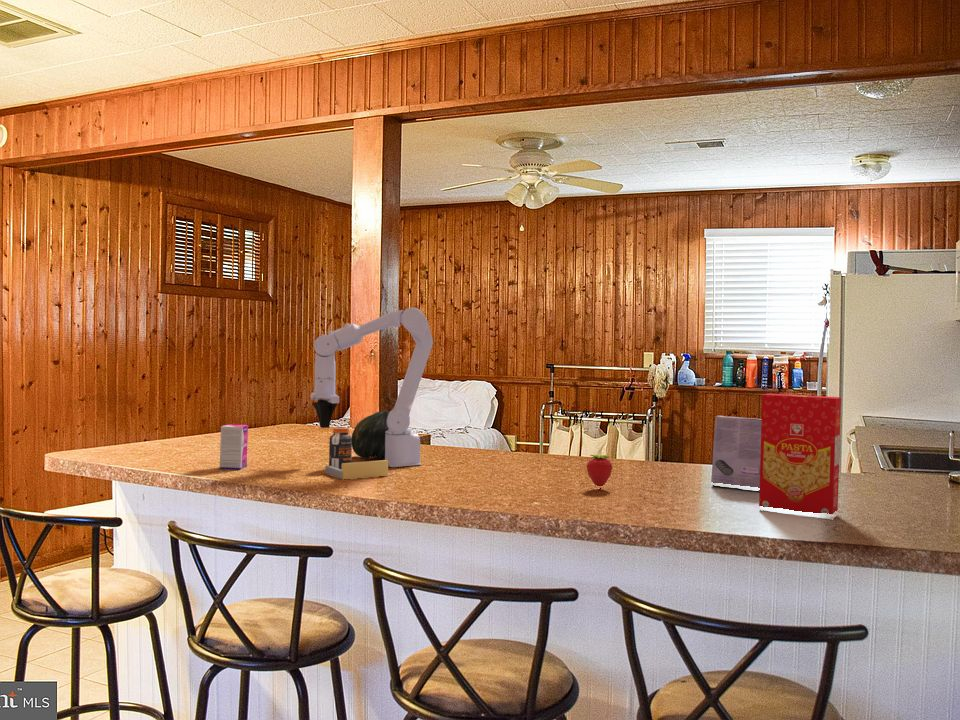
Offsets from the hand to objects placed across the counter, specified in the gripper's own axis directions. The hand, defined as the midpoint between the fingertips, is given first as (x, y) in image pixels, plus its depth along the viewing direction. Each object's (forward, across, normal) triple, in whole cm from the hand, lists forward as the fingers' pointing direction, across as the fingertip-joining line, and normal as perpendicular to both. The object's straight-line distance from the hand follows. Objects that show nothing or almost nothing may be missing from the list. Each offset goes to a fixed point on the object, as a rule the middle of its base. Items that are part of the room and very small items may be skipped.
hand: (324, 427), depth 224 cm
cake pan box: (+11, +84, +75) cm, 114 cm away
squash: (+11, -4, +19) cm, 22 cm away
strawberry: (+11, +65, +42) cm, 78 cm away
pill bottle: (+11, +9, +1) cm, 14 cm away
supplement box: (+10, -6, -23) cm, 26 cm away
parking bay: (+10, +19, +1) cm, 22 cm away
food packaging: (+11, +106, +61) cm, 123 cm away
